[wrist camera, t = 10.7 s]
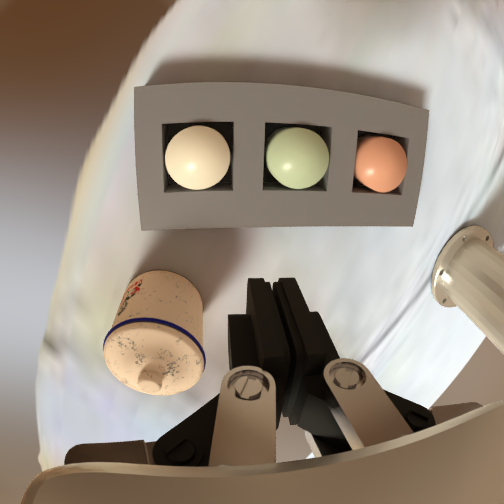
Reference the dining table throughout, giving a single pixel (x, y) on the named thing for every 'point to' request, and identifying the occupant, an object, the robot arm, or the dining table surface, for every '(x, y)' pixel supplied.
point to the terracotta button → (379, 163)
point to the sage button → (296, 157)
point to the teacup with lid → (157, 335)
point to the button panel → (252, 157)
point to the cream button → (197, 157)
